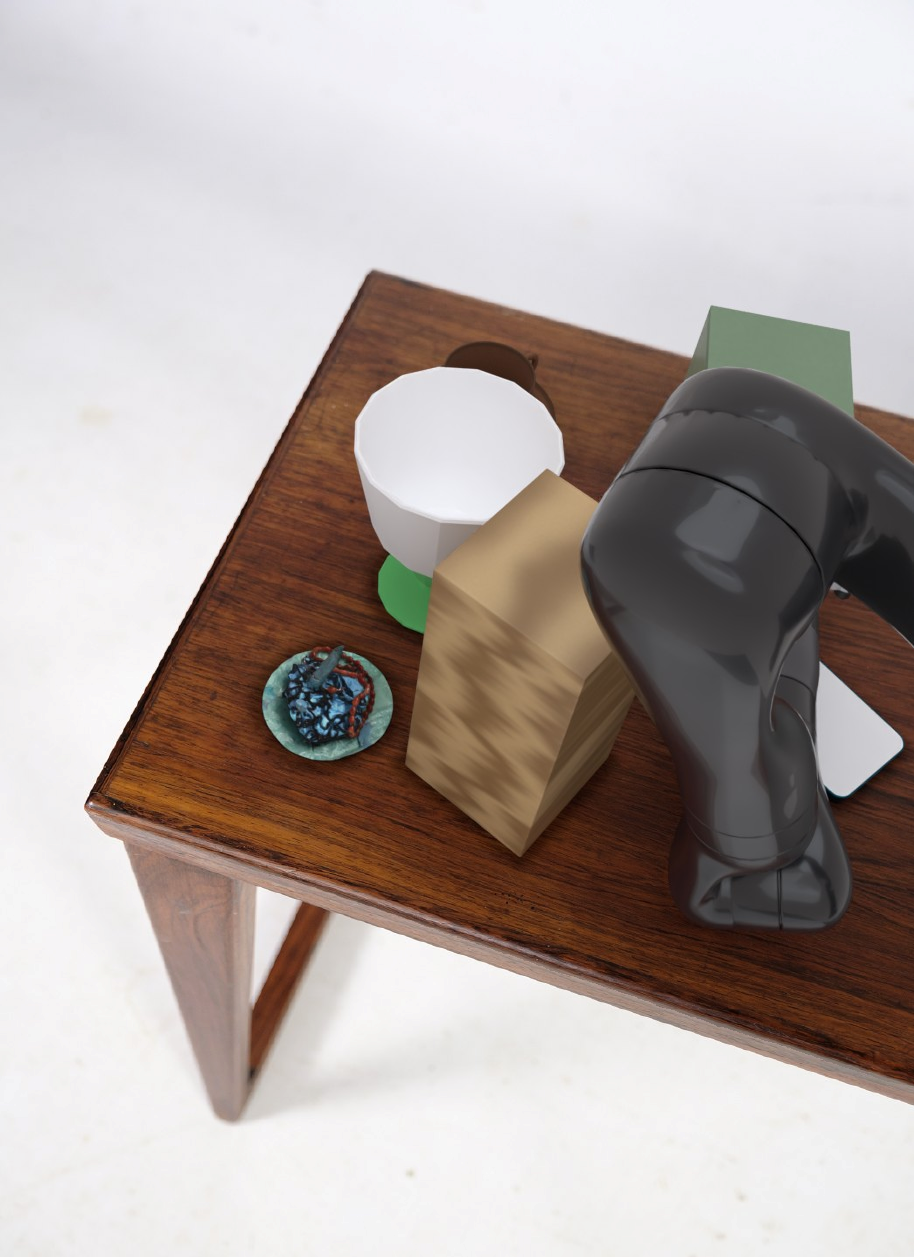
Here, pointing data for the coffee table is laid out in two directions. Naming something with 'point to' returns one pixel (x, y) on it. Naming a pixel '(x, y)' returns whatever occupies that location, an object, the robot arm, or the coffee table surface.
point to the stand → (516, 669)
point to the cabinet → (778, 351)
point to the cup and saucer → (502, 366)
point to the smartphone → (850, 738)
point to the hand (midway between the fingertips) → (762, 466)
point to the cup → (444, 469)
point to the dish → (327, 703)
